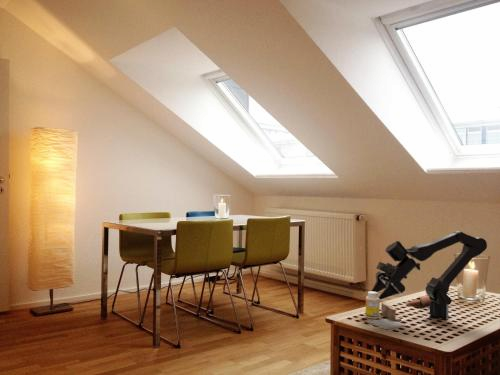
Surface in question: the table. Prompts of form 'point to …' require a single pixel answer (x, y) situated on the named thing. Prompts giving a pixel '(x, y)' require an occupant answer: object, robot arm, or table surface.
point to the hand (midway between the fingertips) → (375, 296)
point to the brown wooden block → (389, 312)
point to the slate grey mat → (386, 323)
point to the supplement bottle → (372, 305)
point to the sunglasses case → (420, 302)
